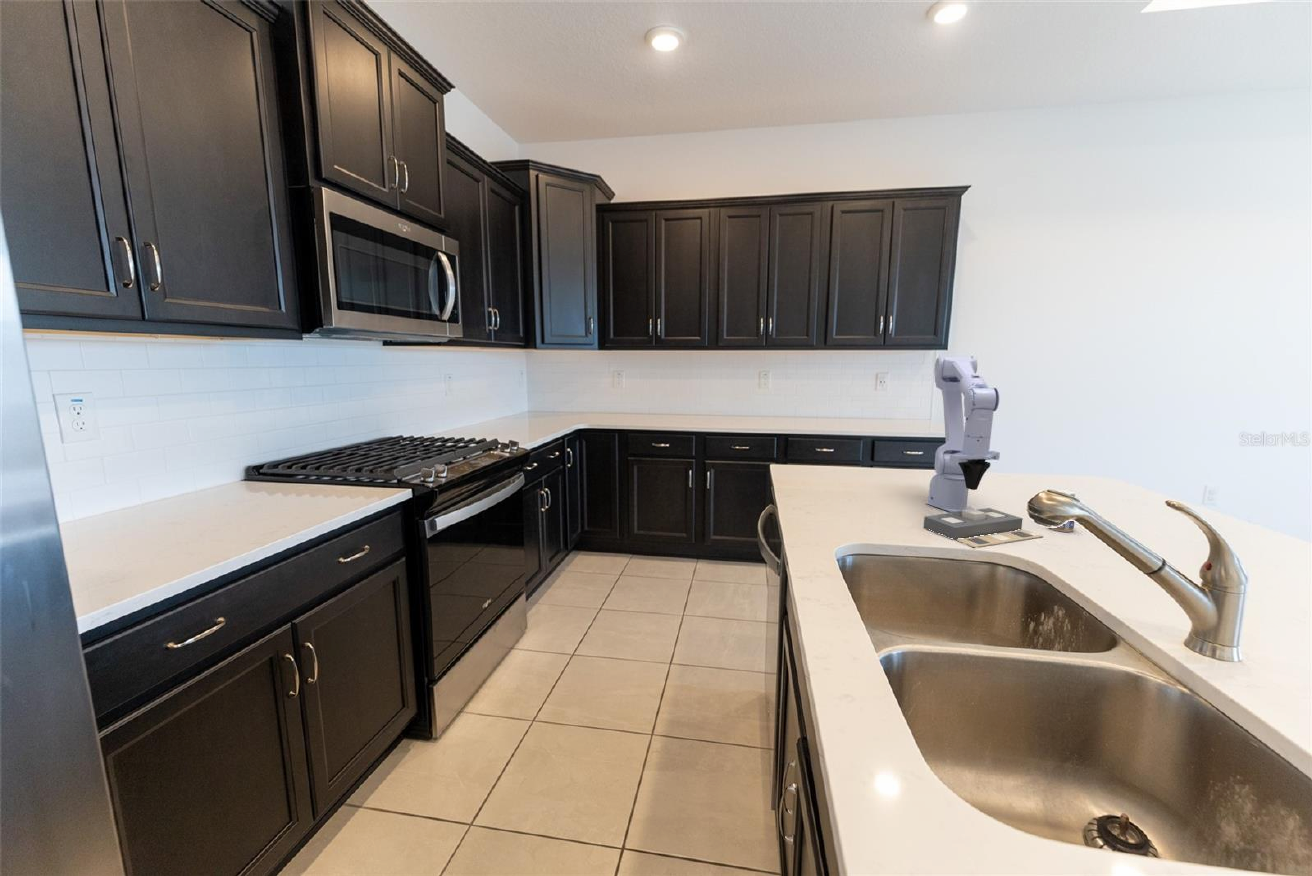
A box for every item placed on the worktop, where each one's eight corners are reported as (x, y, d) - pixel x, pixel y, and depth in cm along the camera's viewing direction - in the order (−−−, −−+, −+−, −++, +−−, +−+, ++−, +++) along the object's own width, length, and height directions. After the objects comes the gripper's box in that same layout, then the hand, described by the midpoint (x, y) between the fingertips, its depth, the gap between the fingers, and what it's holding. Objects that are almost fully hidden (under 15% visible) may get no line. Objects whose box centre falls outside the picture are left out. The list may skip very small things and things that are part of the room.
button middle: (961, 521, 132) (962, 510, 132) (971, 520, 133) (973, 508, 133) (973, 526, 129) (975, 514, 128) (984, 524, 130) (986, 513, 129)
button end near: (939, 530, 130) (940, 518, 130) (950, 528, 131) (951, 517, 131) (951, 535, 127) (952, 523, 126) (962, 533, 128) (963, 521, 127)
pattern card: (956, 540, 123) (956, 539, 123) (1023, 530, 130) (1023, 529, 130) (974, 548, 118) (974, 546, 118) (1043, 537, 126) (1043, 535, 126)
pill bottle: (1064, 525, 134) (1069, 488, 132) (1078, 533, 129) (1084, 494, 127) (1041, 524, 134) (1046, 488, 133) (1055, 532, 129) (1060, 494, 127)
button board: (923, 527, 132) (924, 516, 131) (988, 518, 139) (989, 508, 138) (954, 540, 124) (955, 527, 123) (1021, 529, 131) (1022, 518, 130)
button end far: (981, 524, 135) (982, 513, 134) (991, 522, 136) (992, 511, 135) (994, 528, 131) (995, 517, 131) (1004, 527, 132) (1005, 515, 132)
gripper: (969, 440, 125) (963, 495, 127) (1013, 437, 129) (1007, 490, 132) (944, 435, 131) (939, 488, 134) (987, 432, 136) (981, 483, 138)
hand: (971, 488), depth 133 cm, fingers closed
